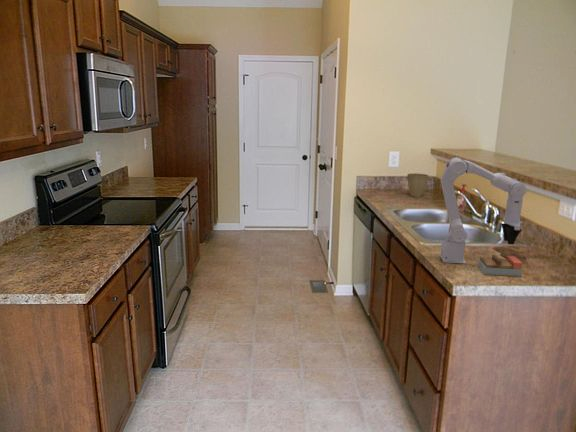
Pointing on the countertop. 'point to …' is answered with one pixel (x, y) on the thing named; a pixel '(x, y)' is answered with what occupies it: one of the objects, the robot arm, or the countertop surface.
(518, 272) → the gray box
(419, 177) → the plant pot
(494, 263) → the lid
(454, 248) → the robot arm
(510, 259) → the red block
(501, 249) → the wooden fragment
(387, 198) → the countertop surface
